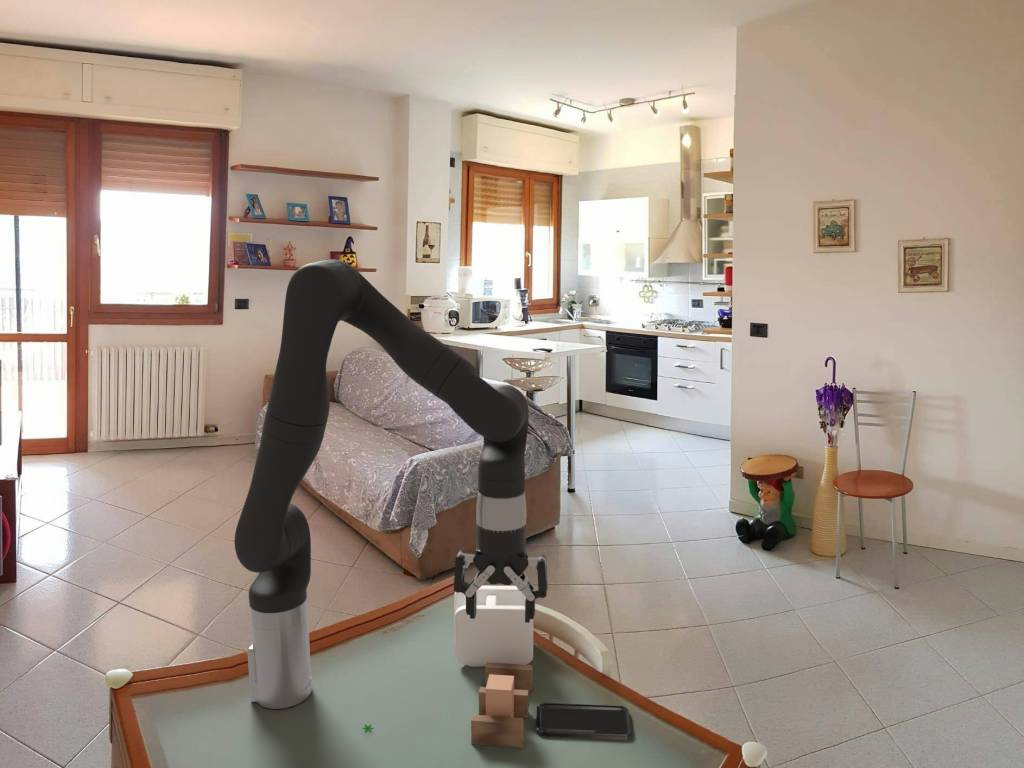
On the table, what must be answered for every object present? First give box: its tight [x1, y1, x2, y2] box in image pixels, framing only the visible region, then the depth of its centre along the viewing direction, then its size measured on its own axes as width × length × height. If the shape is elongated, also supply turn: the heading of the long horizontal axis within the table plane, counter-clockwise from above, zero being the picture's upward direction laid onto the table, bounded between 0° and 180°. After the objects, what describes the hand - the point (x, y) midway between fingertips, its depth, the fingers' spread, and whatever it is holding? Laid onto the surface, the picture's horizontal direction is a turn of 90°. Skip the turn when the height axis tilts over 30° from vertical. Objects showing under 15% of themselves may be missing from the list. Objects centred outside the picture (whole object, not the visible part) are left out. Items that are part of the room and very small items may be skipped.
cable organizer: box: [453, 584, 534, 668], centre depth 145 cm, size 15×11×12 cm
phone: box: [535, 702, 632, 741], centre depth 125 cm, size 8×1×15 cm
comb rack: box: [470, 662, 534, 748], centre depth 127 cm, size 8×16×4 cm, turn 173°
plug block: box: [485, 674, 515, 718], centre depth 123 cm, size 4×4×8 cm
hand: (500, 618), depth 120 cm, fingers open, 8 cm apart
